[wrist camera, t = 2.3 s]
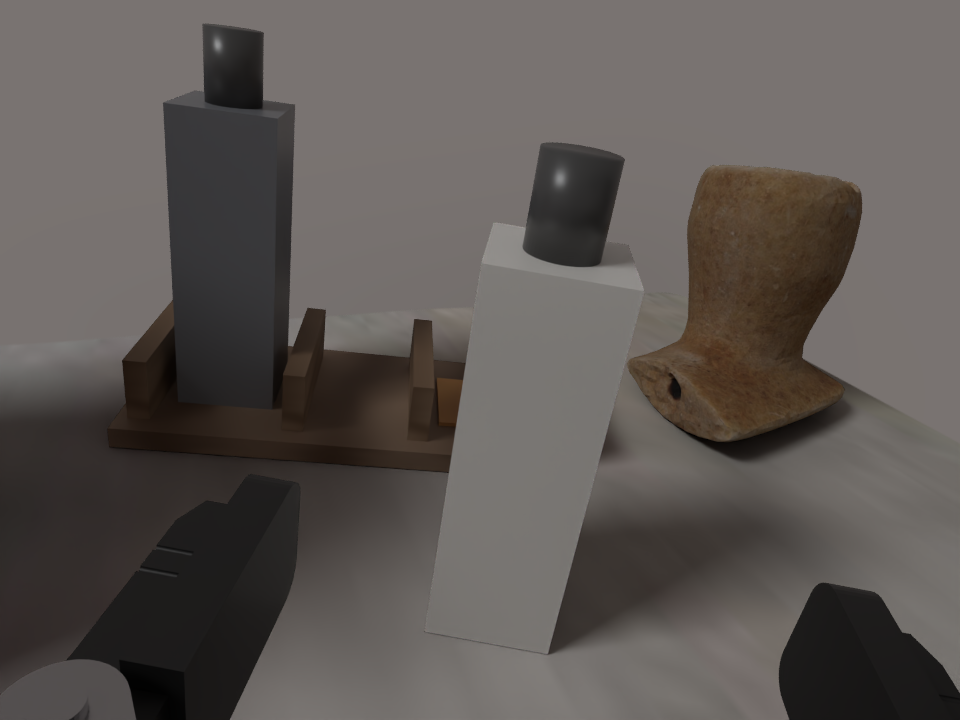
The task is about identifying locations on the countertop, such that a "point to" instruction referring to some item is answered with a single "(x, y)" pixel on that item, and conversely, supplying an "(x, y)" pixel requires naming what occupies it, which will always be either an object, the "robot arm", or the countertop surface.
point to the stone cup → (754, 302)
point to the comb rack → (302, 405)
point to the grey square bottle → (230, 226)
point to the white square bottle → (534, 404)
